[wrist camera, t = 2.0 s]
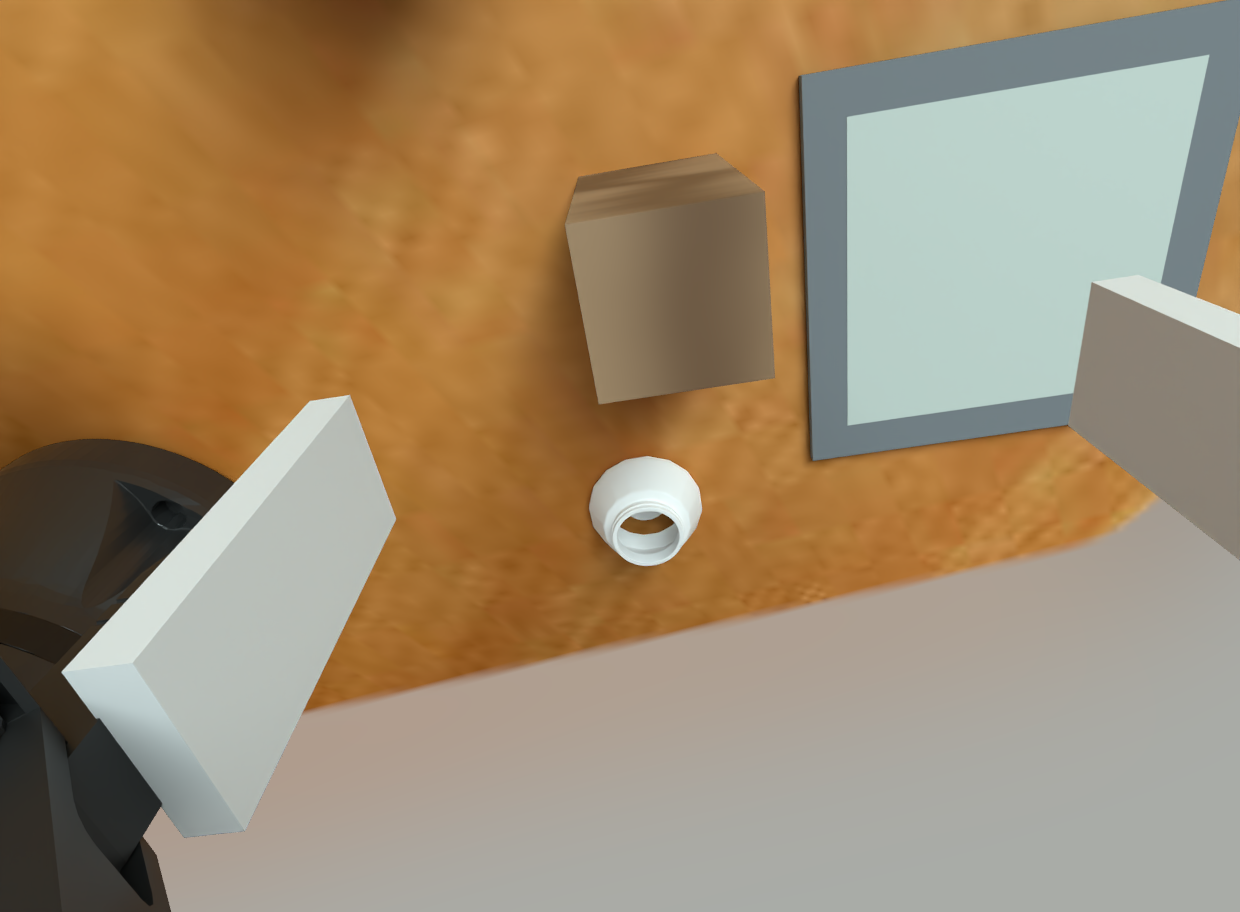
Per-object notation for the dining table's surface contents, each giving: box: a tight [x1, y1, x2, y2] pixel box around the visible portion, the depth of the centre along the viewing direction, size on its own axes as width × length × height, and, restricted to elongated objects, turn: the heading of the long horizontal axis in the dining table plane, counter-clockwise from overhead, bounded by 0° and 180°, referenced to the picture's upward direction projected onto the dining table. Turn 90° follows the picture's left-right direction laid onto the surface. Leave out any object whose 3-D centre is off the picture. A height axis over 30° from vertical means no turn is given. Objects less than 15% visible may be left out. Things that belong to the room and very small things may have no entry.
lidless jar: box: [589, 456, 702, 566], centre depth 31 cm, size 5×3×5 cm
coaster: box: [799, 0, 1240, 461], centre depth 27 cm, size 15×15×1 cm
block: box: [565, 153, 775, 404], centre depth 23 cm, size 5×5×9 cm
